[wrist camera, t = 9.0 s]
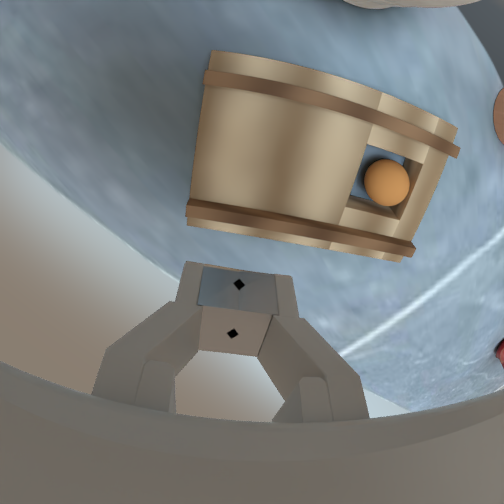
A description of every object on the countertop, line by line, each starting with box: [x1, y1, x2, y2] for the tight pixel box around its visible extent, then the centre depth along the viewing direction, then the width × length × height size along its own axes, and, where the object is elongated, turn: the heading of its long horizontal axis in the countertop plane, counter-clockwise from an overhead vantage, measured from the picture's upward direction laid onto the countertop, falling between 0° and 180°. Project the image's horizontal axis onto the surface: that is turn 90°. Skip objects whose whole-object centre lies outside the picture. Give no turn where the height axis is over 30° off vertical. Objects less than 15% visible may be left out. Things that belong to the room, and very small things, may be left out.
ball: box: [364, 159, 410, 206], centre depth 23 cm, size 4×4×4 cm
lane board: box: [185, 50, 460, 263], centre depth 22 cm, size 20×14×4 cm
